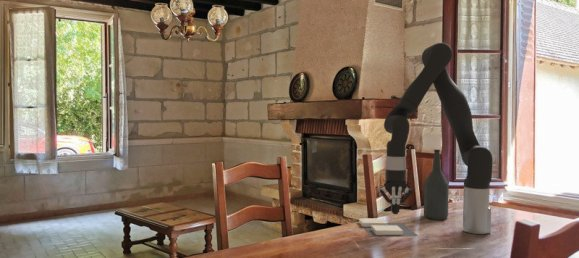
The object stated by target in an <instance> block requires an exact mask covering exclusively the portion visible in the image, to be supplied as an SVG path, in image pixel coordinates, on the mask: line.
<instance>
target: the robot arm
mask: <svg viewBox="0 0 579 258" xmlns="http://www.w3.org/2000/svg"><path fill="white" fill-rule="evenodd" d="M453 55H454V54H453V50H452V47H451V45H449V44H448V43H445V42H438V43H434V44H432V45H431V46H428V47H426V48H425V49H424V50H423V51H422V54H421V62H422V65H423V66H424V67H422V70H421V71H420V73H419V74H418V75H417V77H415V79H414V80H413V81H412V82H411V83H410V85H409V86H408V87H407V89H406V90H405V91H404V93H403V95H402V96H401V98H400V100H399V101H398V103H397V104H396V105H395V106H394V107H393V109H392V110H391V111H390V112H389V113H388V115H387V116H386V117H385V120H384V121H383V128H384V130H385V131H386V132H387V133H388V134H391V138H390V140H388V142H387V143H386V156H385V157H386V159H385V177H384V179H385V182H384V184H383V187H381V188H378V192H379V194H380V195H381V196H382V197H383V199H384V200H385V201H386V202H387V203H389V204H390V212H391V214H392V215H398V214H399V213H400V204H403V203H405V202H406V201H407V200H408V198H409V197H410V196H411V194H412V193H413V190H412V189H410V188H409V187H408V185H407V181H406V180H407V161H406V160H407V159H406V152H407V151H406V149H407V148H406V146H407V143H408V138H409V133H410V126H411V125H410V121H409V119H408V117H409V116H411V115H413V114H415V112H416V111H417V109H418V108H419V106H420V105H421V103H422V101H423V100H424V98H425V96H426V94H427V93H428V91H429V89H430V88H431V87H432V85H433V86H434V89H435V91H436V93H437V96H438V98H439V101H440V104H441V107H442V110H443V112H444V115H445V118H446V119H447V121H448V125H449V126H450V129H451V131H452V132H453V135H454V137H455V139H456V143H457V145H458V150H459V152H460V153H459V154H460V157H461V159H462V162H463V164H464V165H465V166H467V168H466V169H467V170H466V171H467V172H466V177H465V178H464V180H463V202H462V203H463V207H462V209H463V210H462V212H463V214H462V231H463V232H465V233H469V234H474V235H476V234H477V235H485V234H491V232H492V208H491V207H490V186H491V185H490V183H491V181H492V176H493V165H494V164H493V160H494V159H493V154H492V152H491V151H490V150H489V149H488V148H487V147H484V146H482V145H480V142H479V140H478V139H477V136H476V133H475V132H474V127H473V126H474V125H473V116H472V111H471V107H470V105H469V102H468V100H467V98H466V96H465V94H464V93H463V91H462V90H461V89H460V87H459V86H458V85H457V84H456V83H455V82H454V80H453V79H452V78H451V76H450V74H449V72H448V69H447V66H448V65H449V64H450V63H451V61H452V58H453ZM386 192H387V193H388V194H389V197H388V195H387V194H386ZM403 193H404V194H403Z"/></svg>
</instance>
